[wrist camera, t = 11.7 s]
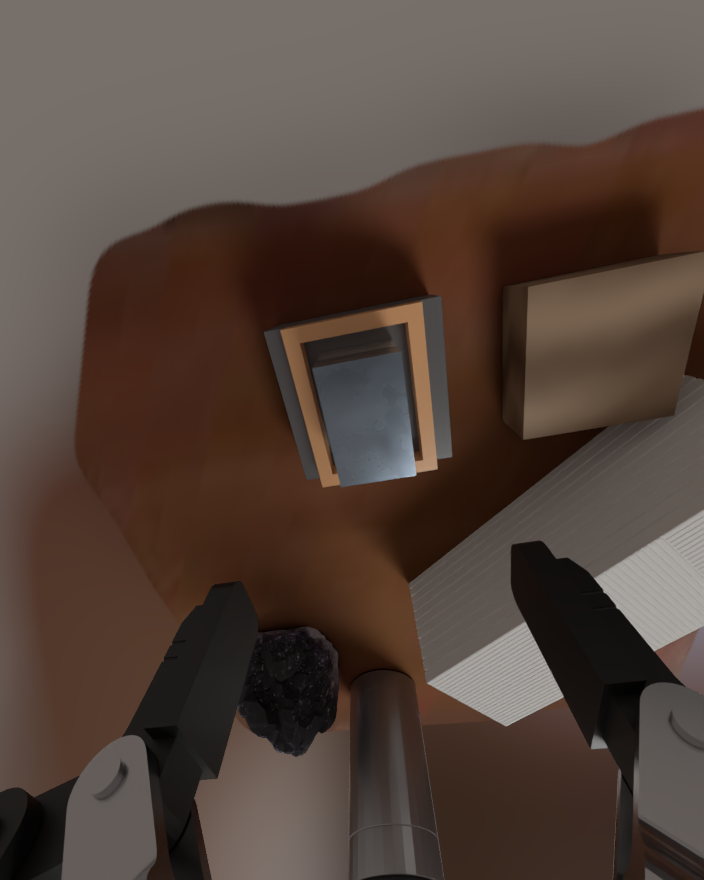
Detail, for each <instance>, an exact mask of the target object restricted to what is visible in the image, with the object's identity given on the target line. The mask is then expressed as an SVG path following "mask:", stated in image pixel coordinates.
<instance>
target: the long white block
mask: <svg viewBox="0 0 704 880" xmlns="http://www.w3.org/2000/svg"><path fill="white" fill-rule="evenodd" d="M539 540H540V541H542V542H544V543H545V544H546V546H547V547H548V548H549V550H550V551H551V552H552V554H553V555H554V556H555V558H556V559H559V558H566V557H568V558H569V559H571V560H572V561H574V562H575V563H577V564H578V565H580V566H581V567H583V568H584V569H585V570H587V571H588V572H589V573H590V574H591V575H592V577H593V578H594V579H595V580H596V581H597V583H598V584H599V585H600V586H601V588H602V589H603V591H604V593H606V594H607V595H608V596H609V597H610V598H611V600H612V601H613V602H614V603H615V605H616V607H617V609H620V611H621V612H622V613H623V614H624V615H625V617H626V618H627V619H628V620H629V622H630V623H631V624H632V625H633V626H634V628H635V629H636V630H637V631H638V632H639V634H640V635H641V636H642V637H643V639H644V640H645V641H646V642H647V643H648V645H649V646H650V647H651V648H652V649H653V651H655V650H657V649H659V648H661V647H663V646H665V645H667V644H669V643H671V642H673V641H675V640H677V639H679V638H681V637H683V636H685V635H687V634H689V633H691V632H693V631H695V630H696V629H698V628H700V627H702V626H704V380H703V379H699V378H698V379H696V378H695V377H692V376H688V375H687V376H685V375H684V376H683V381H682V385H681V389H680V393H679V397H678V401H677V406H676V410H675V414H674V416H668V417H662V418H656V419H650V420H644V421H637V422H631V423H625V424H619V425H613V426H608V427H607V428H606V429H605V430H603V431H602V432H601V433H599V434H598V435H597V436H596V437H594V438H593V439H592V440H591V441H589V442H588V443H587V444H586V445H584V446H583V447H582V448H580V449H579V450H578V451H577V452H575V453H574V454H573V455H572V456H570V457H569V458H568V459H566V460H565V461H564V462H563V463H561V464H560V465H559V466H558V467H556V468H555V469H554V470H552V471H551V472H550V473H549V474H547V475H546V476H545V477H544V478H542V479H541V480H540V481H538V482H537V483H536V484H535V485H533V486H532V487H531V488H530V489H528V490H527V491H526V492H525V493H523V494H522V495H521V496H519V497H518V498H517V499H516V500H514V501H513V502H512V503H511V504H509V505H508V506H507V507H505V508H504V509H503V510H502V511H500V512H499V513H498V514H497V515H495V516H494V517H493V518H491V519H490V520H489V521H488V522H486V523H485V524H484V525H483V526H481V527H480V528H479V529H477V530H476V531H475V532H474V533H472V534H471V535H470V536H469V537H467V538H466V539H465V540H464V541H462V542H461V543H460V544H458V545H457V546H456V547H455V548H453V549H452V550H451V551H450V552H448V553H447V554H446V555H444V556H443V557H442V558H441V559H439V560H438V561H437V562H436V563H434V564H433V565H432V566H430V567H429V568H428V569H427V570H425V571H424V572H423V573H422V574H420V575H419V576H418V577H416V578H415V579H414V580H413V581H411V582H410V583H409V588H410V589H411V590H410V593H411V596H412V598H411V599H412V603H413V604H414V605H413V610H414V612H416V613H414V616H415V620H416V621H417V622H416V627H417V629H418V631H417V633H418V638H419V639H421V640H419V644H420V648H421V649H423V650H421V655H422V659H424V661H423V666H424V670H426V671H427V672H425V677H426V683H427V684H429V685H431V686H433V687H435V688H437V689H438V690H440V691H442V692H444V693H446V694H448V695H449V696H451V697H453V698H455V699H457V700H459V701H460V702H462V703H464V704H466V705H468V706H470V707H471V708H473V709H475V710H477V711H479V712H481V713H482V714H484V715H486V716H488V717H490V718H492V719H493V720H495V721H497V722H499V723H501V724H503V725H505V726H507V725H510V724H511V723H514V722H516V721H517V720H519V719H521V718H523V717H525V716H527V715H529V714H531V713H533V712H535V711H537V710H539V709H541V708H543V707H545V706H547V705H549V704H551V703H553V702H555V701H557V700H559V699H561V698H563V697H564V696H563V694H562V692H561V690H560V688H559V686H558V684H557V683H556V681H555V679H554V677H553V675H552V673H551V671H550V669H549V667H548V665H547V663H546V661H545V659H544V657H543V655H542V653H541V651H540V649H539V647H538V645H537V643H536V641H535V640H534V638H533V636H532V634H531V632H530V630H529V628H528V626H527V624H526V622H525V620H524V618H523V616H522V614H521V612H520V610H519V608H518V606H517V604H516V602H515V599H514V596H513V593H512V589H511V546H512V544H517V543H524V542H531V541H539Z"/></svg>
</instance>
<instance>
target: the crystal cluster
mask: <svg viewBox="0 0 704 880" xmlns="http://www.w3.org/2000/svg"><path fill="white" fill-rule="evenodd" d="M338 657H339V656H338V652H337V651H336V650H335V649H334V648H333V646H332V643H330V642H329V641H328V640H326V638H325V636H323V635H322V634H321V633H320V632H319V631H318V630H317V629H314V628H311V627H300V628H295V629H289V630H275V631H270V632H258V634H257V639H256V642H255V646H254V649H253V653H252V656H251V660H250V664H249V667H248V671H247V674H246V678H245V681H244V685H243V689H242V692H241V696H240V699H239V703H238V707H237V709H238V712H239V714H240V716H241V717H242V718H245V720H246V722H247V724H248V726H249V728H250V730H251V731H252V732H253V733H255V734H256V735H257V736H259V737H262V738H267V739H268V740H269V741H270V742H271V743H272V745H273V747H274V749H275V750H276V751H277V752H280V753H282V752H284V753H286V754H292V755H293V756H295V757H297V756H299V755H303V754H304V753H306V751H307V750H308V748H309V747H310V745H311V743H312V742H313V740H314V738H315V736H316V734H317V733H318V731H319V732H320V733H324V732H326V731H327V730H328V729H329V728H330V727H331V726H332V724H333V723H334V721H335V718H336V712H337V701H338V690H339V676H338Z"/></svg>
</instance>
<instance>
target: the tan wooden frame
mask: <svg viewBox="0 0 704 880" xmlns="http://www.w3.org/2000/svg"><path fill="white" fill-rule="evenodd" d="M264 335H265V339H266V342H267V345H268V349H269V352H270V356H271V359H272V363H273V366H274V369H275V373H276V376H277V380H278V383H279V387H280V390H281V393H282V397H283V400H284V404H285V407H286V411H287V414H288V417H289V421H290V424H291V428H292V431H293V434H294V438H295V441H296V445H297V448H298V452H299V455H300V458H301V462H302V465H303V469H304V472H305V476H306V479H307V480H311V479H317V478H320V479H321V483H322V486H323V487H328V486H335V485H340V482H339V478H338V474H337V469H336V465H335V461H334V457H333V453H332V449H331V445H330V440H329V436H328V432H327V428H326V424H325V420H324V415H323V411H322V407H321V403H320V399H319V395H318V391H317V386H316V382H315V378H314V374H313V370H312V368H313V366H314V364H315V362H316V361H317V359H318V357H319V355H320V353H321V352H326V351H331V350H336V349H341V348H346V347H351V346H357V345H362V344H367V343H372V342H377V341H382V340H388V339H393V341H394V342H395V344H396V345H397V346H398V348H399V349H400V350H401V353H402V361H403V369H404V378H405V386H406V394H407V402H408V410H409V418H410V426H411V435H412V443H413V451H414V459H415V467H416V473H417V472H424V471H430V470H436V469H438V467H437V459H442V458H448V457H452V445H451V431H450V416H449V402H448V387H447V373H446V359H445V344H444V330H443V315H442V301H441V296H437V295H424V296H419V297H414V298H409V299H404V300H399V301H394V302H390V303H385V304H380V305H375V306H370V307H365V308H360V309H355V310H350V311H345V312H341V313H336V314H331V315H326V316H321V317H316V318H311V319H306V320H301V321H296V322H292V323H287V324H282V325H277V326H275V327H273V328H271V329H269V330H267V331H265V332H264Z"/></svg>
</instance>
